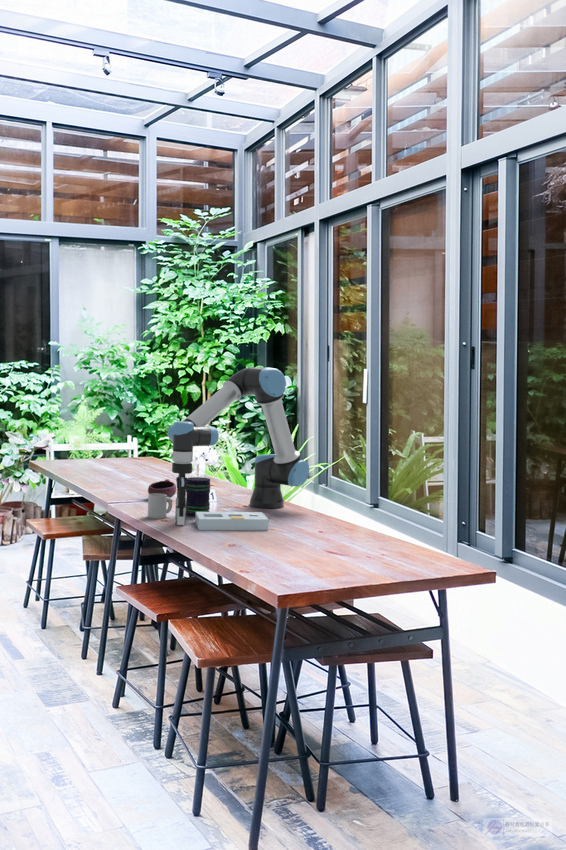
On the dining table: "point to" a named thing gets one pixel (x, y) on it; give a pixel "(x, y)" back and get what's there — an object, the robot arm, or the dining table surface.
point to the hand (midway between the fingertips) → (180, 523)
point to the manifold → (231, 521)
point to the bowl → (163, 488)
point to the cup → (158, 505)
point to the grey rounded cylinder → (177, 511)
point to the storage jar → (197, 495)
